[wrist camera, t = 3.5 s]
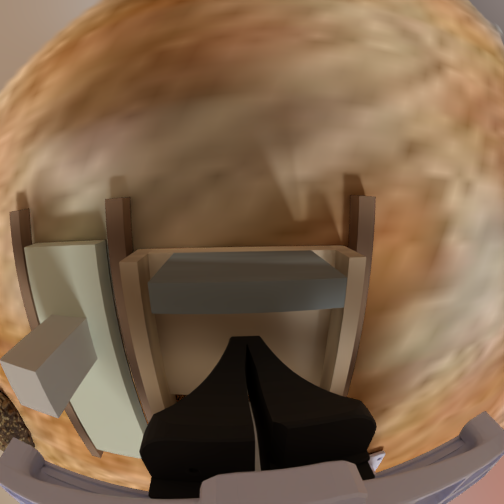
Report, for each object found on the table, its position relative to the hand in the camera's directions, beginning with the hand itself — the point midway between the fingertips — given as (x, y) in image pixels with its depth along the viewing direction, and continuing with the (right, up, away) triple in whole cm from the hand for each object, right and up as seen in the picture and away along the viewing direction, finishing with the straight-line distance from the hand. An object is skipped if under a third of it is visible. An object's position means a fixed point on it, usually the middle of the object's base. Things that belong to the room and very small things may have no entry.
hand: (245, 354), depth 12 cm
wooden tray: (0, -3, +3) cm, 5 cm away
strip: (-9, -3, +2) cm, 10 cm away
